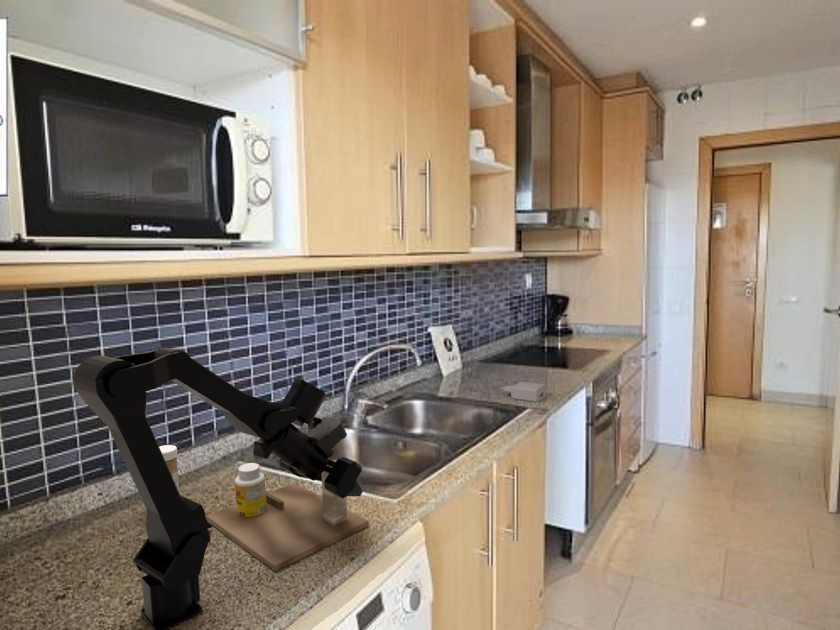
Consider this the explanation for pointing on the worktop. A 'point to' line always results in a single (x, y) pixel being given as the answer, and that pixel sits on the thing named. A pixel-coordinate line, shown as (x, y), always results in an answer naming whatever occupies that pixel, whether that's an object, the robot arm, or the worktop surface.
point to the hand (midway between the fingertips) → (345, 486)
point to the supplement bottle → (250, 491)
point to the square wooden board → (290, 524)
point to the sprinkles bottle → (171, 461)
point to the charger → (526, 391)
